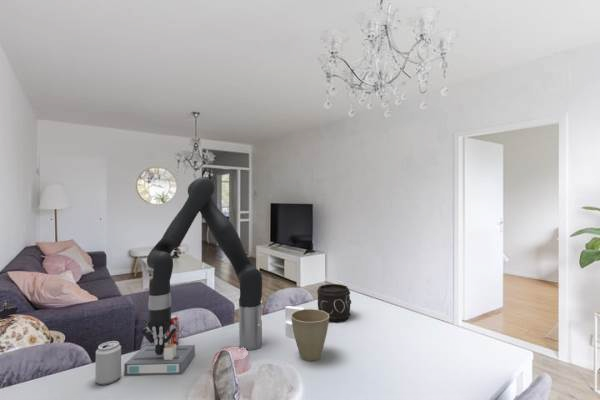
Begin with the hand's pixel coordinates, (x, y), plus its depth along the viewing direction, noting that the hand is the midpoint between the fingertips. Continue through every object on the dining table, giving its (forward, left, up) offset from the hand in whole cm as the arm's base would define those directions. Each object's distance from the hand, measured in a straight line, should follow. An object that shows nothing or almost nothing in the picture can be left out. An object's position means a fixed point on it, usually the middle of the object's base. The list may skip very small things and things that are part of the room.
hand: (159, 354), depth 111 cm
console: (+1, -3, -6) cm, 6 cm away
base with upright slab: (-49, -29, -6) cm, 57 cm away
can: (+15, +6, -6) cm, 17 cm away
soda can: (+5, -21, -6) cm, 22 cm away
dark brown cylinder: (-70, -50, -6) cm, 86 cm away
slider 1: (+2, -7, -1) cm, 7 cm away
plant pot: (-55, -7, -6) cm, 56 cm away
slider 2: (-4, 0, -1) cm, 4 cm away
